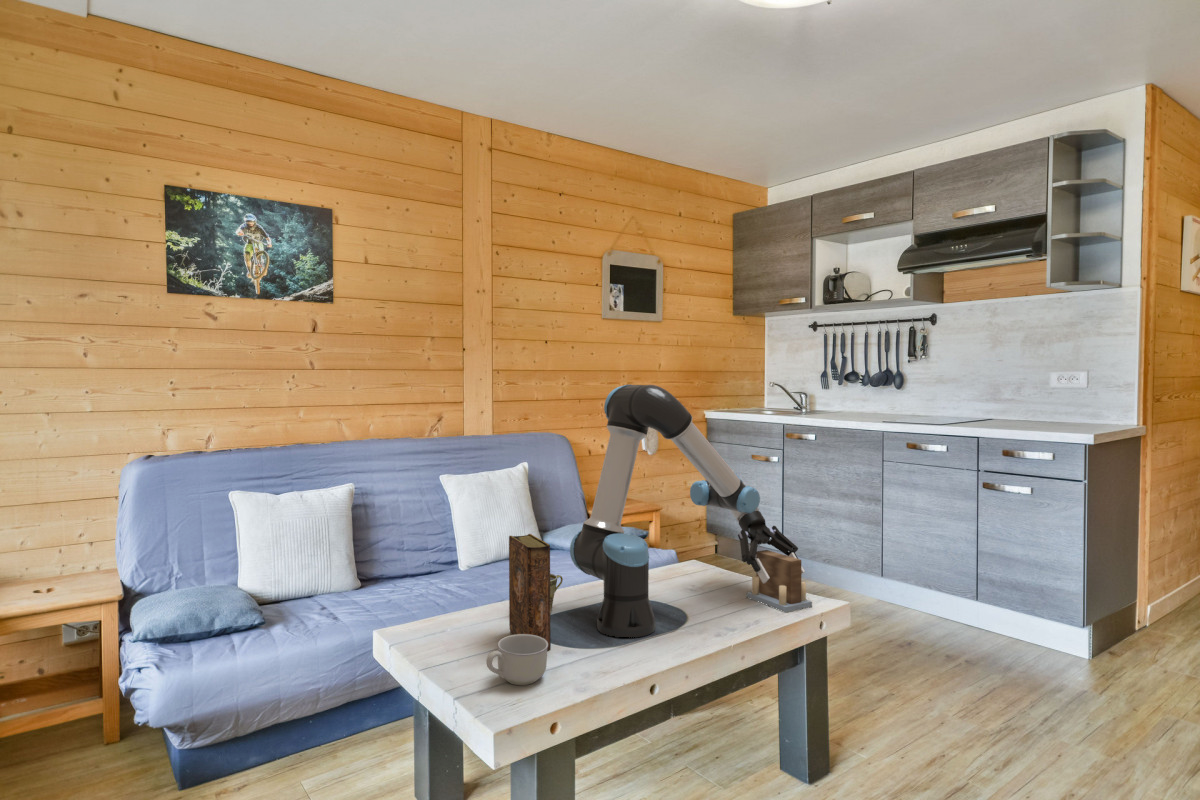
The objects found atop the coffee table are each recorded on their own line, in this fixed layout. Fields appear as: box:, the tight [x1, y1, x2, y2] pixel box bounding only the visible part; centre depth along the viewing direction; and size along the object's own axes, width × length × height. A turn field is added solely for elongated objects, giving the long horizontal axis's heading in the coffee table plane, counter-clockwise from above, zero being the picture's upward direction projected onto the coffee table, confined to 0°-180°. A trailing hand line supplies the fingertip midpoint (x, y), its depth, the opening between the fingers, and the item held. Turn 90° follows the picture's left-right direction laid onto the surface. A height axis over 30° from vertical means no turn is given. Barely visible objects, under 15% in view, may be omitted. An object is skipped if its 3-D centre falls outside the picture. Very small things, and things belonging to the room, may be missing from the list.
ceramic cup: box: [550, 572, 564, 615], centre depth 192 cm, size 13×10×10 cm
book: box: [508, 533, 552, 653], centre depth 170 cm, size 16×6×25 cm, turn 25°
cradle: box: [746, 575, 813, 613], centre depth 200 cm, size 16×10×6 cm, turn 29°
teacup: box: [486, 634, 548, 686], centre depth 147 cm, size 14×11×8 cm
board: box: [755, 549, 802, 604], centre depth 200 cm, size 14×4×12 cm, turn 30°
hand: (784, 577), depth 198 cm, fingers open, 13 cm apart
